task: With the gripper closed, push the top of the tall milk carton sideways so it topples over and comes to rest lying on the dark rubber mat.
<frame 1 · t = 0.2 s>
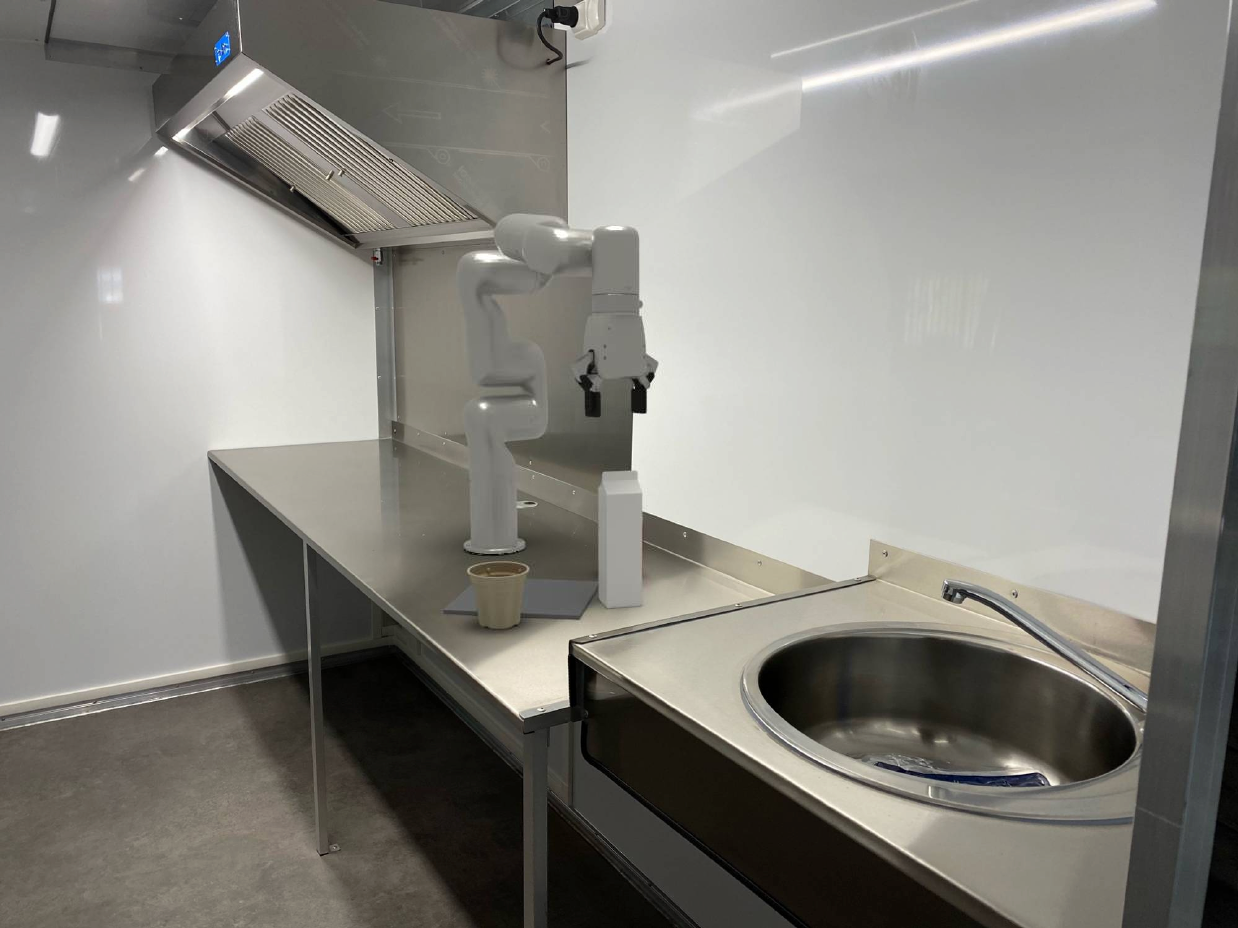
hand: (616, 415, 148), 31 cm above the table, tool pointing down, fingers open, 9 cm apart
mat: (525, 598, 156), on the table
flower pot: (499, 624, 142), on the table
canned food: (622, 576, 170), on the table
milk: (620, 603, 153), on the table
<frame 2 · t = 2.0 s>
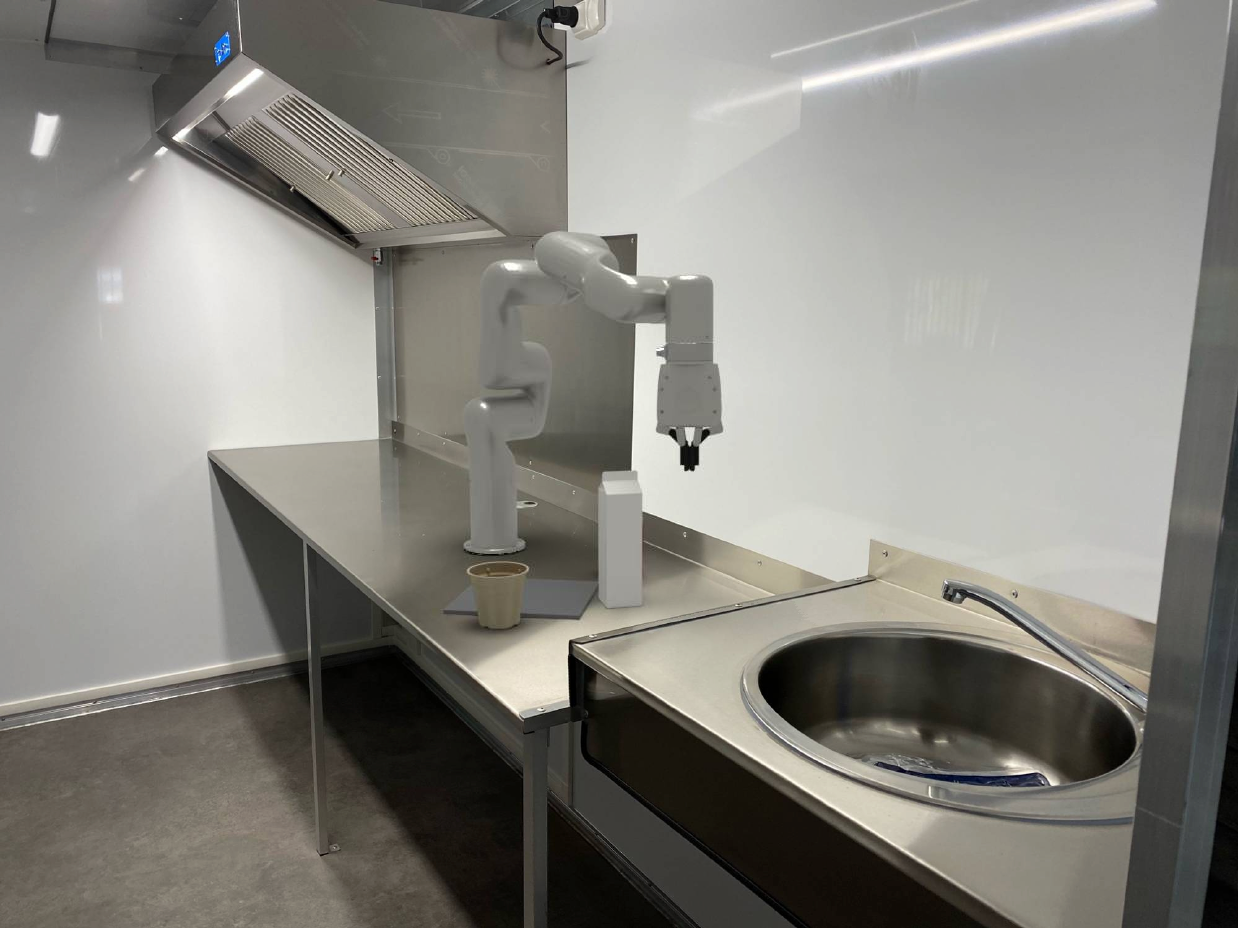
hand: (689, 469, 148), 22 cm above the table, tool pointing down, fingers closed
nothing on the table moved.
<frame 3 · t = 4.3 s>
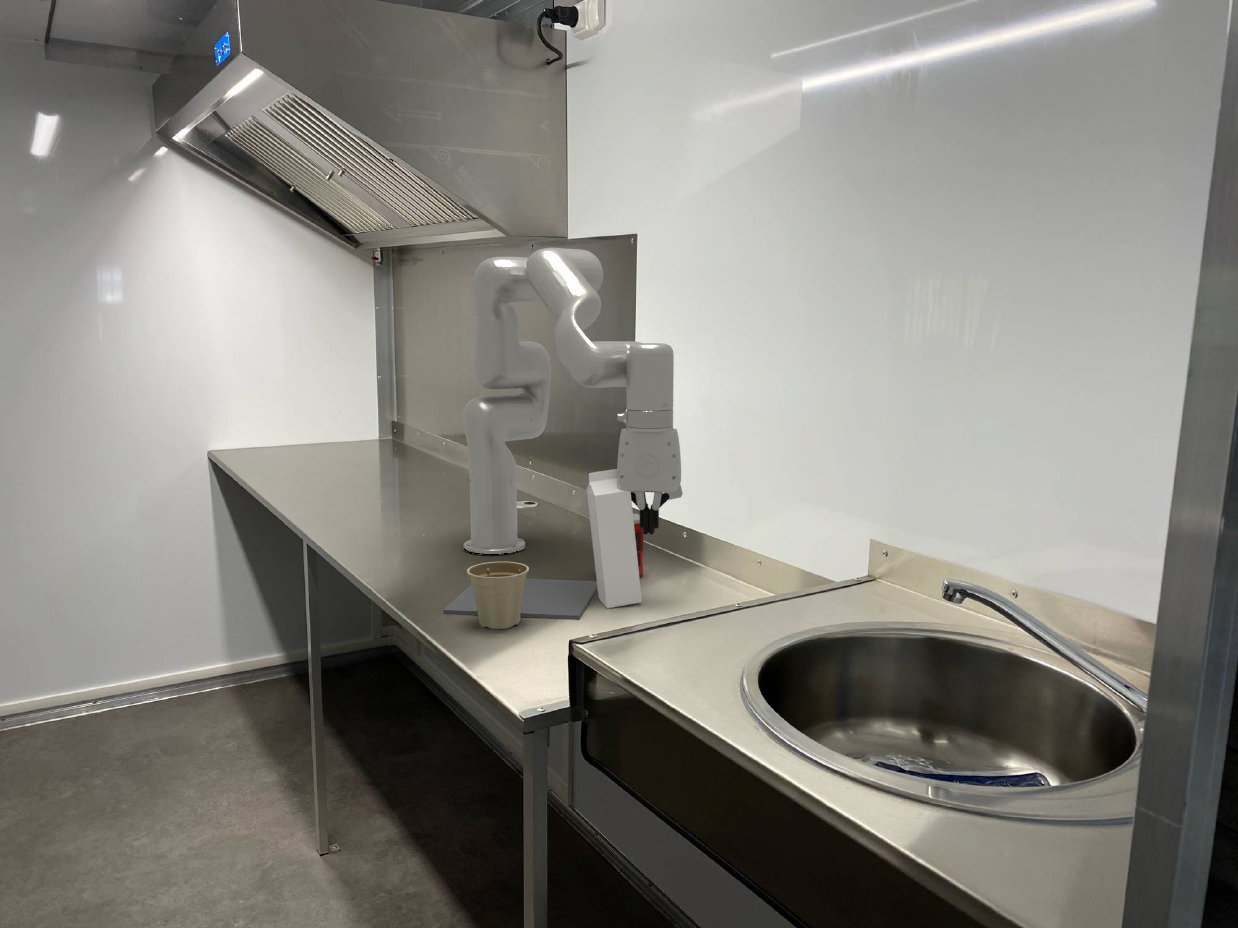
hand: (649, 532, 151), 12 cm above the table, tool pointing down, fingers closed
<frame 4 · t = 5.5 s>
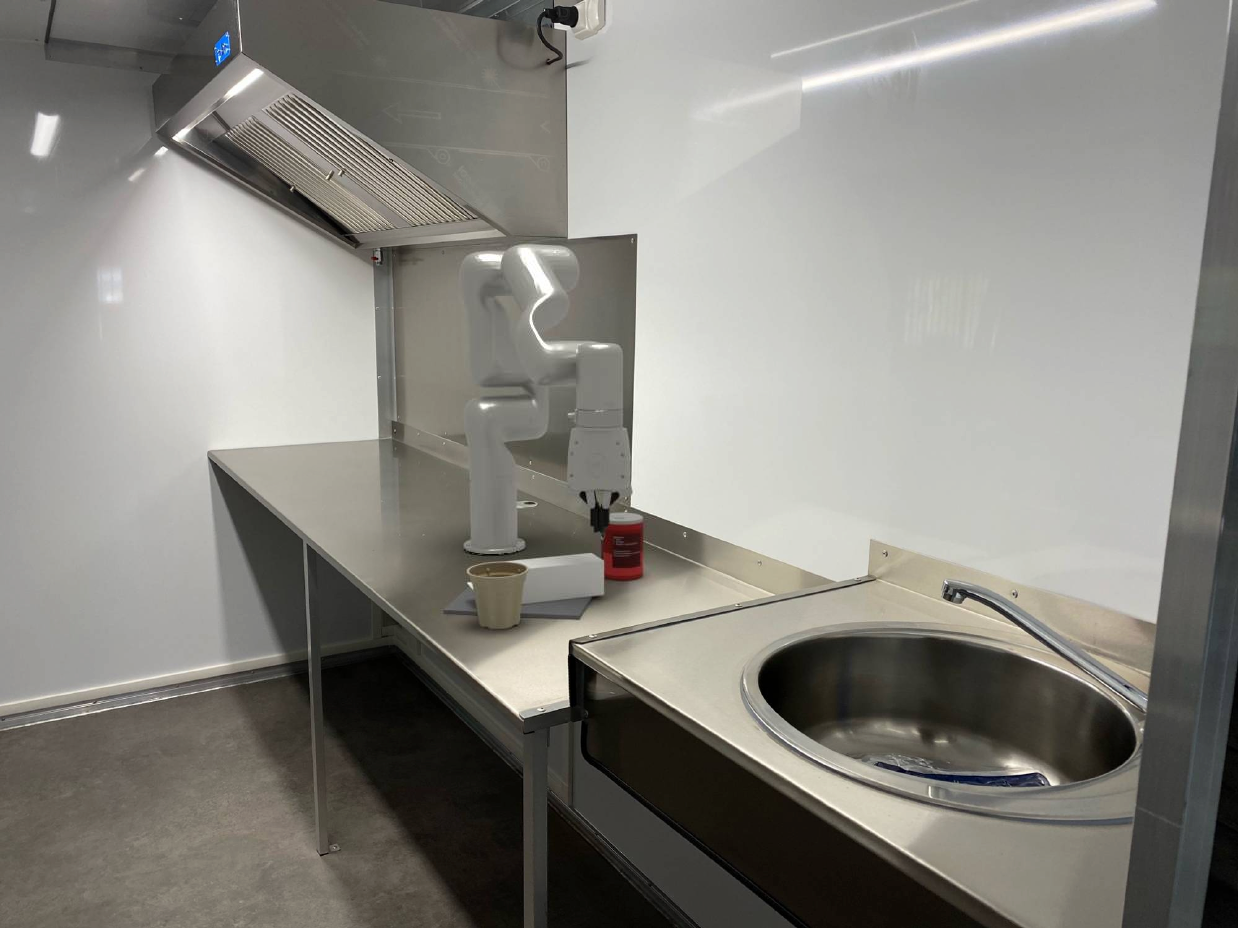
hand: (600, 530, 152), 12 cm above the table, tool pointing down, fingers closed
milk: (599, 573, 158), point 4 cm above the table, touching mat
everything else where it was.
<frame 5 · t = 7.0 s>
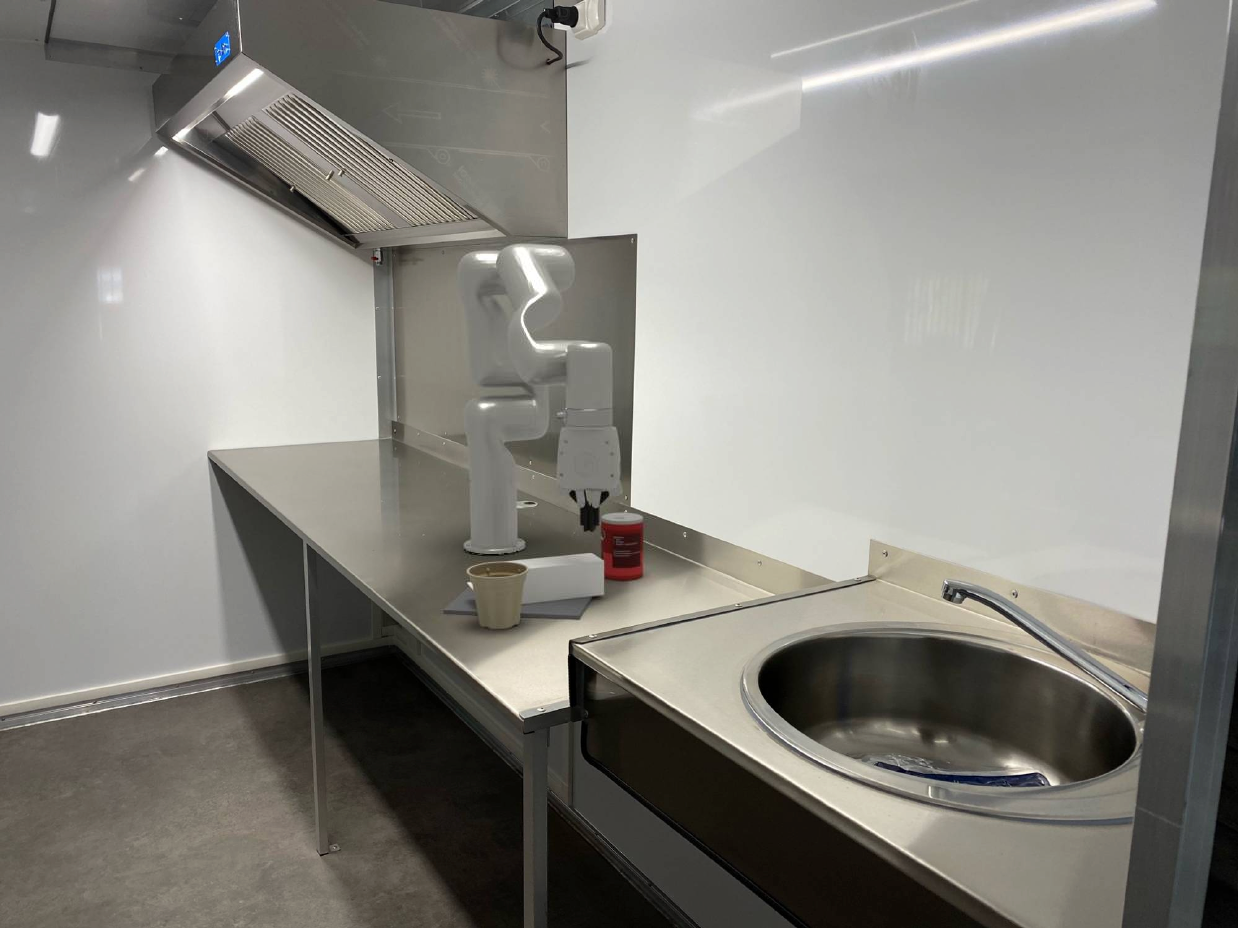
hand: (589, 529, 152), 12 cm above the table, tool pointing down, fingers closed
nothing on the table moved.
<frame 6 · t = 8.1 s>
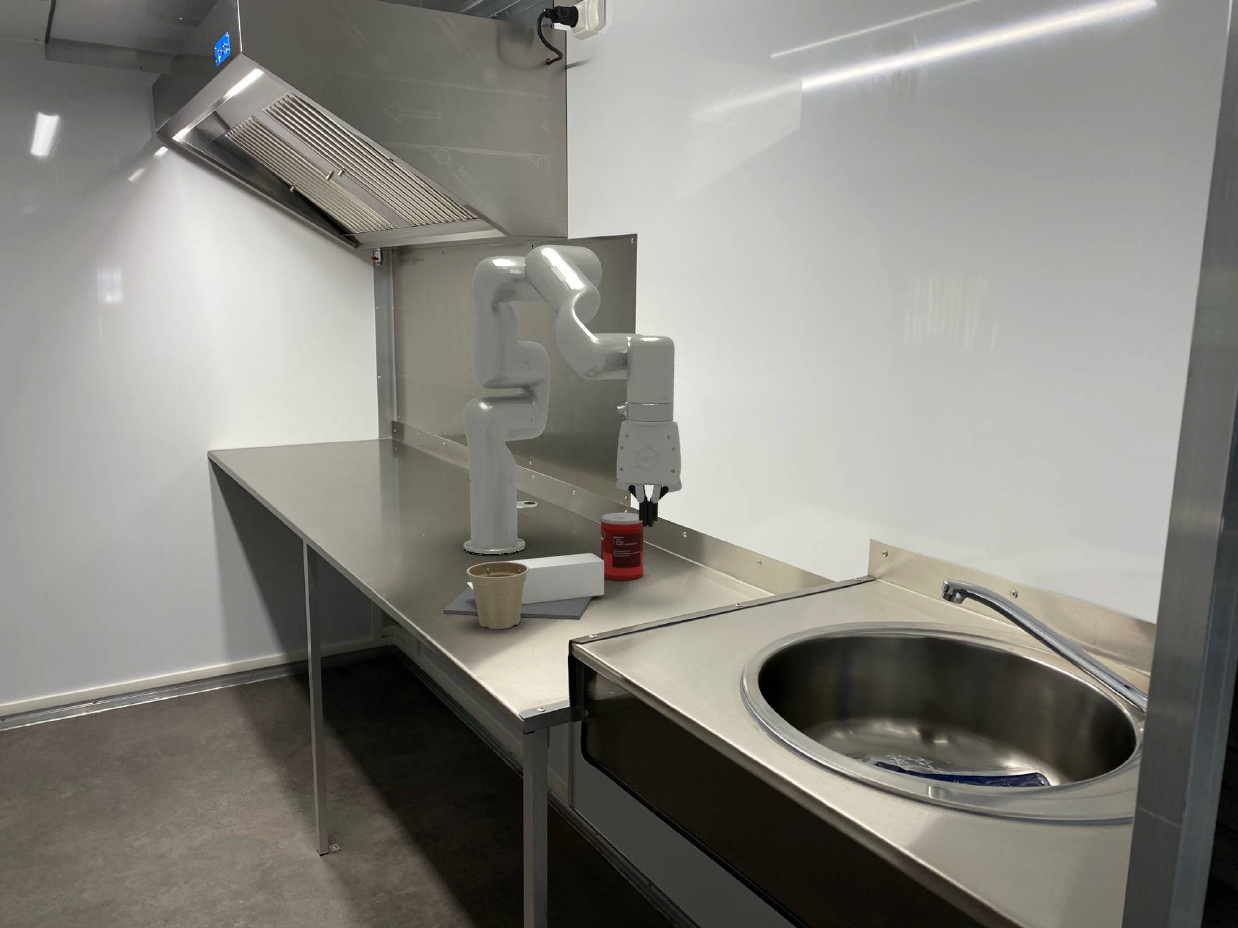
hand: (648, 524, 151), 13 cm above the table, tool pointing down, fingers closed
nothing on the table moved.
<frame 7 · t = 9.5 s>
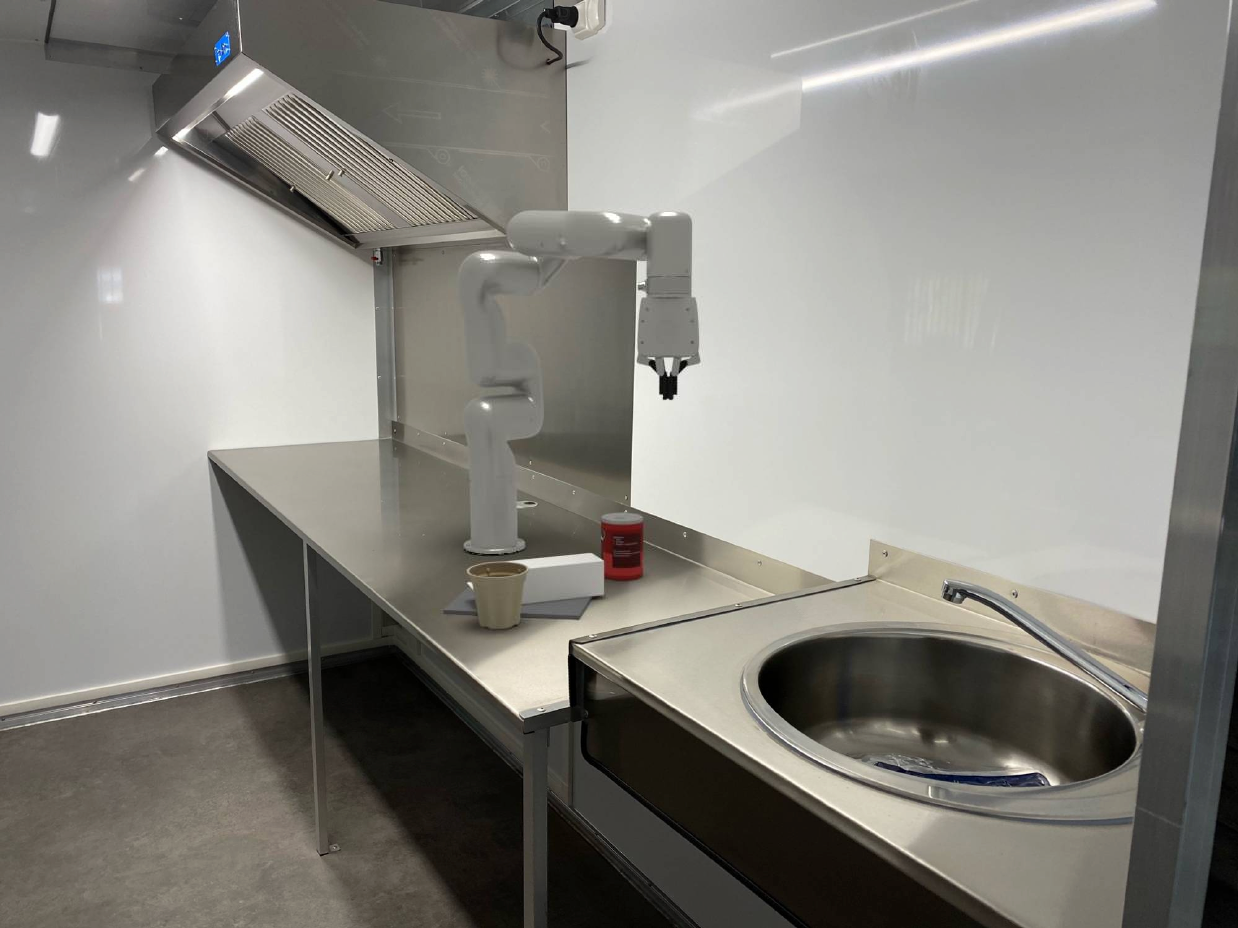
hand: (668, 399, 156), 33 cm above the table, tool pointing down, fingers closed
nothing on the table moved.
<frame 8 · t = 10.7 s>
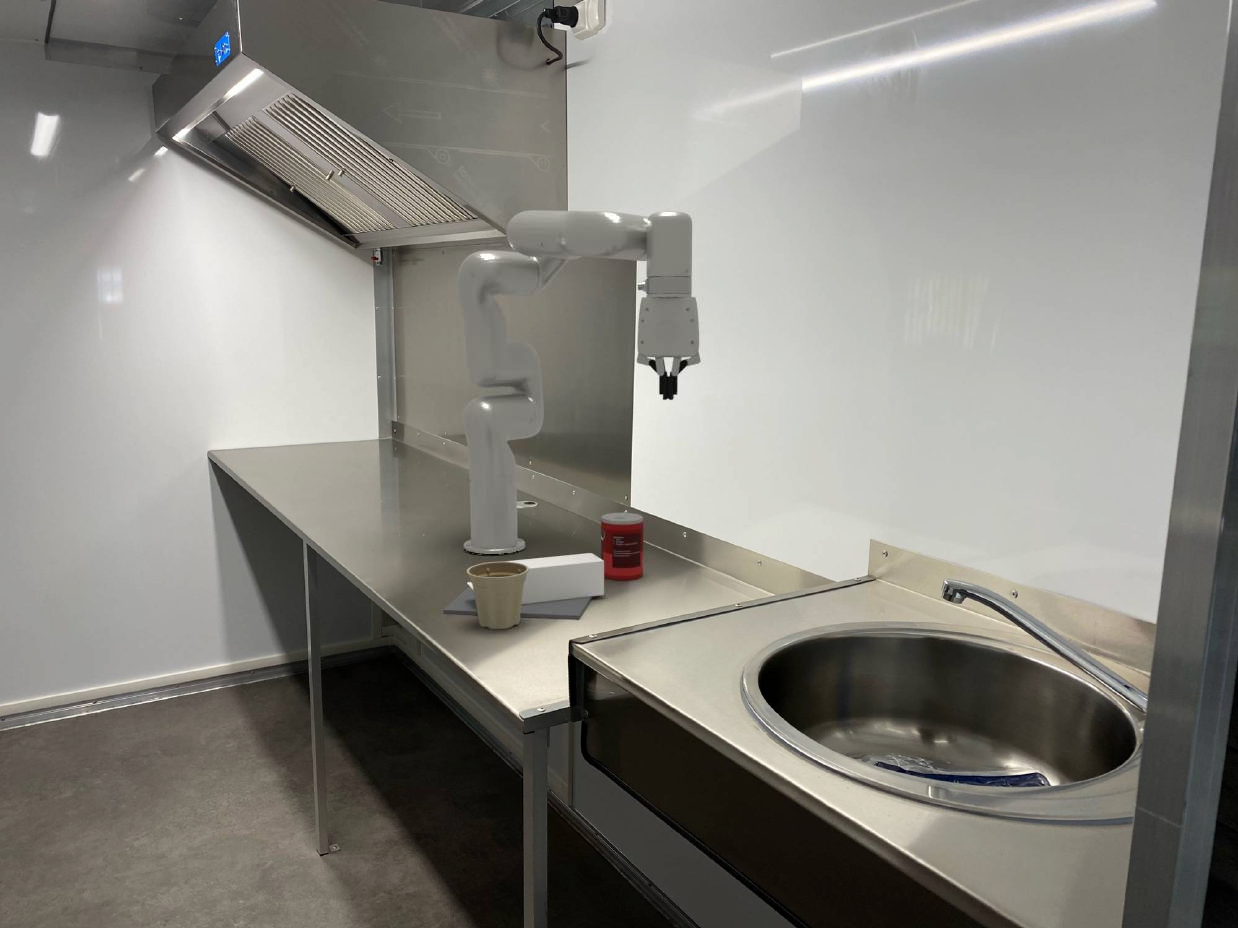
hand: (668, 399, 156), 33 cm above the table, tool pointing down, fingers closed
nothing on the table moved.
at the end: milk tilted 90°; milk inside the target area (5.8 cm from its centre), point 3.6 cm above the table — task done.
